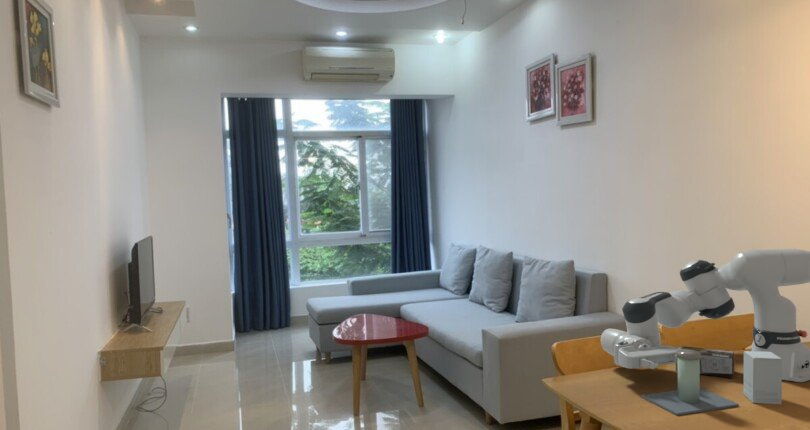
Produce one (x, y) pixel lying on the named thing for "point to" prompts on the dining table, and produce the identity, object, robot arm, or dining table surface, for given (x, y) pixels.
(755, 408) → the dining table surface
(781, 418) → the dining table surface
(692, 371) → the ceramic jar
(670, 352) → the robot arm
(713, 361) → the coffee box
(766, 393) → the supplement box
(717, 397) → the cutting board
